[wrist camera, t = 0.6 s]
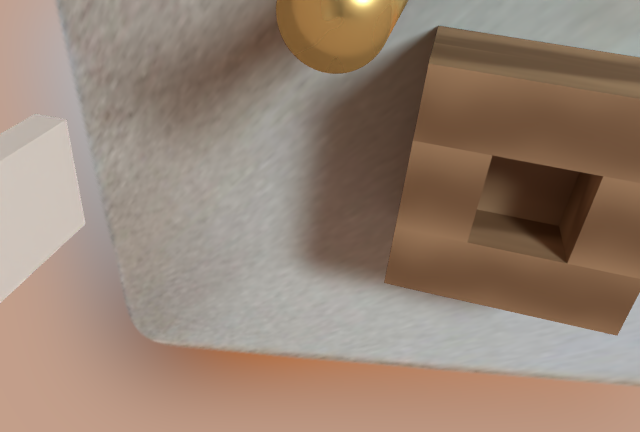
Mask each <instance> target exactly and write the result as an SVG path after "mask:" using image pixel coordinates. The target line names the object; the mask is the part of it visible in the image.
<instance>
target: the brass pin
mask: <svg viewBox="0 0 640 432" xmlns="http://www.w3.org/2000/svg"><path fill="white" fill-rule="evenodd" d="M407 2H408V0H277V3H276V17H277V23H278V27H279V31H280V33H281V36H282V38H283V40H284V42H285V44H286V45H287V47H288V48H289V50H290V51H291V52H292V53H293V54H294V56H296V57H297V58H298V59H299V60H300V61H301V62H303V63H304V64H306V65H307V66H309V67H311V68H313V69H315V70H318V71H321V72H325V73H333V74H339V73H347V72H351V71H354V70H357V69H359V68H361V67H363V66H365V65H366V64H368V63H369V62H370V61H371V60H373V59H374V58H375V57H376V56H377V54H378V53H379V52H380V51H381V49H382V48H383V46H384V44H385V43H386V41H387V39H388V37H389V35H390V33H391V31H392V30H393V28H394V26H395V24H396V22H397V20H398V18H399V17H400V15H401V13H402V11H403V9H404V7H405V5H406V4H407Z"/></svg>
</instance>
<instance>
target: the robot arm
mask: <svg viewBox="0 0 640 432" xmlns="http://www.w3.org/2000/svg"><path fill="white" fill-rule="evenodd" d="M84 225H85V219H84V214H83V208H82V202H81V197H80V192H79V186H78V181H77V175H76V170H75V165H74V159H73V154H72V149H71V143H70V137H69V132H68V127H67V121H66V119H61V118H55V117H49V116H43V115H38V114H34V115H32V116H31V117H29V118H27V119H25V120H24V121H22V122H20V123H18V124H17V125H15V126H13V127H11V128H10V129H8V130H6V131H5V132H3V133H1V134H0V303H1V302H2V301H3V300H4V299H5V298H6V297H7V296H8V295H9V294H10V293H11V292H13V291H14V290H15V289H16V288H17V287H18V286H19V285H20V284H21V283H22V282H23V281H24V280H26V279H27V278H28V277H29V276H30V275H31V274H32V273H33V272H34V271H35V270H36V269H37V268H39V267H40V266H41V265H42V264H43V263H44V262H45V261H46V260H47V259H48V258H49V257H50V256H52V255H53V254H54V253H55V252H56V251H57V250H58V249H59V248H60V247H61V246H62V245H63V244H65V243H66V242H67V241H68V240H69V239H70V238H71V237H72V236H73V235H74V234H75V233H76V232H77V231H79V229H81V228H82V227H83V226H84Z"/></svg>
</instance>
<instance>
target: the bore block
mask: <svg viewBox="0 0 640 432" xmlns="http://www.w3.org/2000/svg"><path fill="white" fill-rule="evenodd" d="M384 283H387V284H391V285H395V286H400V287H404V288H409V289H413V290H418V291H422V292H426V293H431V294H435V295H440V296H444V297H449V298H453V299H457V300H462V301H466V302H471V303H475V304H480V305H484V306H488V307H493V308H497V309H502V310H506V311H511V312H515V313H520V314H524V315H528V316H533V317H537V318H542V319H546V320H551V321H555V322H559V323H564V324H568V325H573V326H577V327H582V328H586V329H590V330H595V331H599V332H604V333H608V334H613V335H618V333H619V331H620V329H621V327H622V325H623V323H624V322H625V320H626V318H627V316H628V314H629V312H630V310H631V308H632V306H633V304H634V302H635V300H636V298H637V296H638V294H639V292H640V58H639V57H633V56H626V55H620V54H614V53H607V52H601V51H595V50H588V49H582V48H576V47H569V46H563V45H557V44H550V43H544V42H538V41H531V40H525V39H519V38H512V37H506V36H500V35H493V34H487V33H481V32H474V31H468V30H462V29H455V28H449V27H443V26H438V29H437V33H436V37H435V41H434V45H433V48H432V52H431V56H430V60H429V64H428V69H427V74H426V79H425V84H424V89H423V93H422V98H421V103H420V108H419V113H418V118H417V123H416V128H415V133H414V138H413V143H412V148H411V153H410V157H409V162H408V167H407V172H406V177H405V182H404V187H403V192H402V197H401V202H400V207H399V212H398V217H397V222H396V226H395V231H394V236H393V241H392V246H391V251H390V256H389V261H388V266H387V271H386V276H385V281H384Z"/></svg>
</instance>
